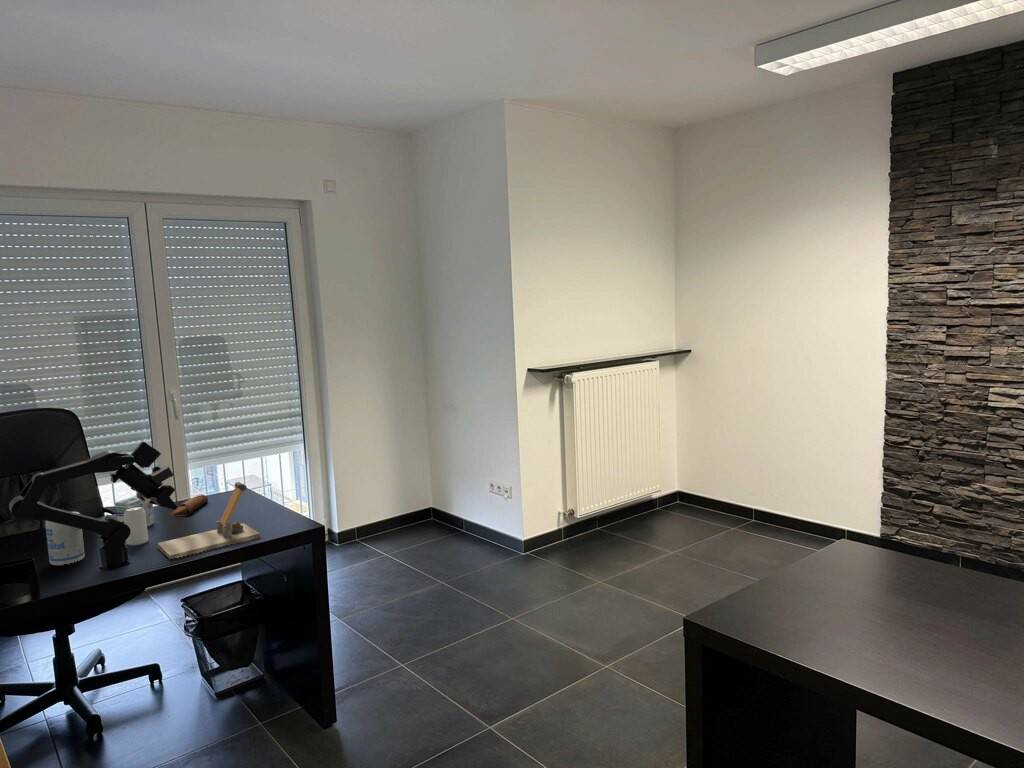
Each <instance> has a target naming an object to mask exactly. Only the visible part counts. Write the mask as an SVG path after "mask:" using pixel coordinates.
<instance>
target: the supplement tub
mask: <svg viewBox="0 0 1024 768" xmlns="http://www.w3.org/2000/svg"><path fill="white" fill-rule="evenodd" d="M72 512H73V513H77V514H81V513H80V512H78V511H72ZM44 521H45V535H46V544H47V552H48V560H49V564H50V565H53V566H65V565H64V564H67V565H71V564H70V563H72V564H75V563H77V561H78V562H80V561H81V560H83V559H84V558H85V555H86V553H85V545H84V537H83V529H79V528H75V527H71V526H67V525H62V524H58V523H54V522H50V521H46V520H44ZM74 562H75V563H74Z"/></svg>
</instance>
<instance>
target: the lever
mask: <svg viewBox="0 0 1024 768" xmlns="http://www.w3.org/2000/svg"><path fill="white" fill-rule="evenodd" d="M246 490H247V486H246V484H244V483H242V482H240V481H236V482H235V483H234V488H233V491H232V494H231V496H230V499H229V500H228V502H227V505H226V507H225V509H224V512H223V513H222V516H221V518H220V520H219V521H220V523H221V524H223V525H228V524H230V522H231V519H232V518H233V515H234V513H235V511H236V509H237V506H238V504H239V502H240V500H241V498H242V495H243V494H244V491H246Z"/></svg>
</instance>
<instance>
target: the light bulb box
mask: <svg viewBox="0 0 1024 768" xmlns="http://www.w3.org/2000/svg"><path fill="white" fill-rule="evenodd" d="M144 499H145V498H144ZM149 502H150V500H149V499H145V501H141V500H139V499H138V498H137V494H136V495H133V496H130V497H127V498H124V499H122V500H119V501H116V502H114V506H115V517H120V518H121V519H122V520H123V521H124V512H125V509H126V508H128V507H133V506H143V509H144V510H145V513H146V522H147V526H148V527H150V526H153V525H155V524H154V523H155V513H154V504H150V503H149ZM152 524H153V525H152Z"/></svg>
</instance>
